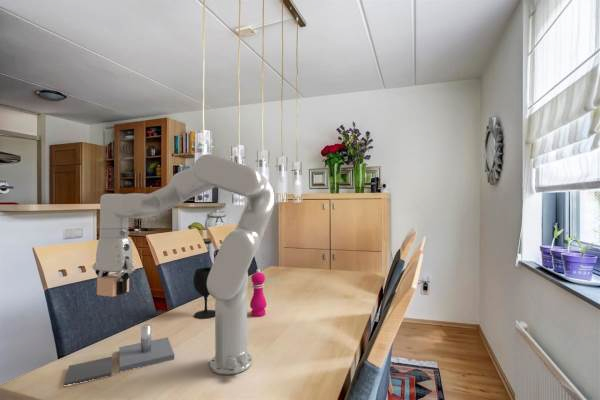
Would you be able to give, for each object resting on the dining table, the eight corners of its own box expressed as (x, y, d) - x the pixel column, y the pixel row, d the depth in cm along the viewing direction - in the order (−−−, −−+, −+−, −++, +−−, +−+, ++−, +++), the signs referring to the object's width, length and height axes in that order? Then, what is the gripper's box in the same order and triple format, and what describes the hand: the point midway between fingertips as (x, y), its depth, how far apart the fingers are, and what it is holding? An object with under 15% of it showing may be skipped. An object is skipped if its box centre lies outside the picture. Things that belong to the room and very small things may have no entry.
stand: (174, 359, 99) (174, 354, 99) (119, 372, 92) (119, 367, 92) (167, 341, 112) (167, 337, 112) (119, 351, 104) (119, 347, 105)
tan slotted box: (129, 291, 98) (129, 275, 98) (112, 296, 92) (113, 279, 93) (113, 289, 100) (114, 273, 100) (96, 294, 94) (97, 277, 94)
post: (151, 351, 101) (151, 326, 101) (141, 353, 100) (141, 328, 100) (150, 347, 104) (150, 323, 104) (140, 349, 102) (140, 325, 102)
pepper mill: (263, 317, 135) (263, 271, 135) (247, 316, 136) (247, 270, 136) (268, 312, 142) (268, 267, 142) (253, 311, 143) (253, 267, 143)
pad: (111, 375, 90) (111, 372, 90) (63, 387, 84) (63, 383, 84) (111, 359, 99) (111, 356, 99) (69, 369, 94) (69, 365, 94)
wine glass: (209, 309, 146) (208, 266, 147) (222, 314, 140) (222, 269, 140) (188, 315, 138) (188, 270, 139) (202, 320, 132) (202, 273, 132)
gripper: (146, 233, 98) (145, 292, 97) (102, 232, 102) (101, 287, 102) (126, 236, 90) (125, 299, 90) (80, 234, 95) (79, 293, 95)
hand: (113, 292), depth 96 cm, fingers closed on tan slotted box, 5 cm apart
